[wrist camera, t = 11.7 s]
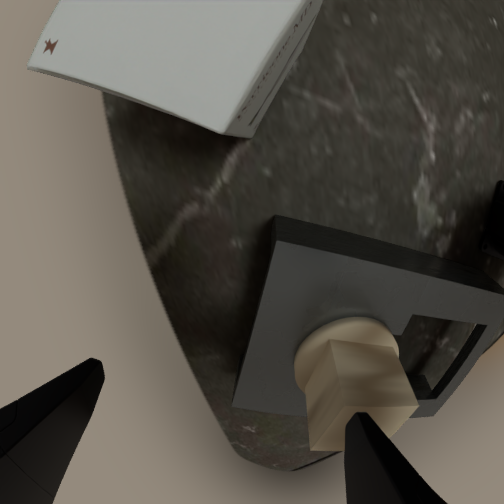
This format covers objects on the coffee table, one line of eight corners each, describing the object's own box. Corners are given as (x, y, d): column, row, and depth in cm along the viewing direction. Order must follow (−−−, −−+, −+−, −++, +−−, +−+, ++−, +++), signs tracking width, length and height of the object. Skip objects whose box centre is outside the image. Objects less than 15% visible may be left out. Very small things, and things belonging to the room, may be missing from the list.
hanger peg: (389, 290, 20) (448, 389, 11) (356, 357, 23) (384, 457, 14) (306, 273, 20) (329, 386, 11) (280, 346, 23) (282, 457, 13)
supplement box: (252, 142, 18) (219, 150, 6) (155, 97, 17) (16, 70, 5) (306, 50, 15) (358, -62, 3) (207, 9, 14) (136, -102, 2)
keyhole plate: (483, 270, 20) (513, 297, 15) (418, 382, 25) (433, 416, 21) (275, 214, 19) (276, 240, 15) (237, 364, 25) (231, 406, 20)
